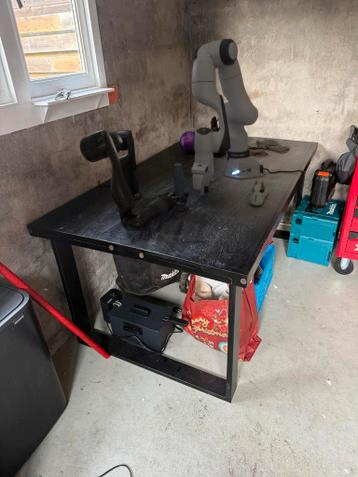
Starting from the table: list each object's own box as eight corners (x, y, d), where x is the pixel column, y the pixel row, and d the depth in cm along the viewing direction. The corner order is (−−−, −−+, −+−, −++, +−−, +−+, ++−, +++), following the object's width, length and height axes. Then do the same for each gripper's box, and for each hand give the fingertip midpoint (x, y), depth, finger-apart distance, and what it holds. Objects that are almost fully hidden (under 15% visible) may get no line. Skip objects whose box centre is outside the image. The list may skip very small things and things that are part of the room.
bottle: (174, 209, 153) (170, 165, 142) (178, 206, 156) (175, 162, 146) (182, 211, 151) (180, 166, 140) (186, 207, 154) (184, 163, 144)
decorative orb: (204, 151, 235) (204, 129, 228) (194, 156, 225) (193, 134, 217) (186, 149, 243) (186, 128, 235) (175, 154, 232) (174, 132, 224)
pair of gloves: (254, 158, 214) (255, 150, 211) (233, 150, 234) (233, 142, 232) (291, 151, 223) (292, 143, 221) (268, 143, 244) (269, 136, 241)
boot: (223, 139, 261) (223, 113, 251) (220, 148, 241) (220, 119, 231) (212, 139, 263) (212, 113, 253) (208, 147, 242) (208, 119, 232)
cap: (208, 193, 159) (208, 189, 158) (199, 192, 160) (199, 189, 159) (209, 189, 163) (209, 186, 162) (200, 189, 164) (200, 185, 163)
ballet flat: (269, 188, 169) (270, 173, 165) (265, 208, 149) (266, 191, 145) (252, 187, 171) (253, 172, 167) (246, 206, 151) (247, 190, 147)
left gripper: (173, 202, 135) (195, 188, 147) (146, 195, 142) (170, 183, 154) (174, 218, 139) (196, 203, 150) (148, 211, 146) (171, 198, 158)
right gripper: (205, 157, 164) (205, 183, 171) (189, 170, 148) (190, 198, 155) (217, 158, 162) (216, 185, 169) (203, 171, 146) (203, 200, 152)
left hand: (182, 193), depth 152 cm, fingers closed on bottle, 4 cm apart
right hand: (204, 191), depth 162 cm, fingers closed on cap, 4 cm apart
